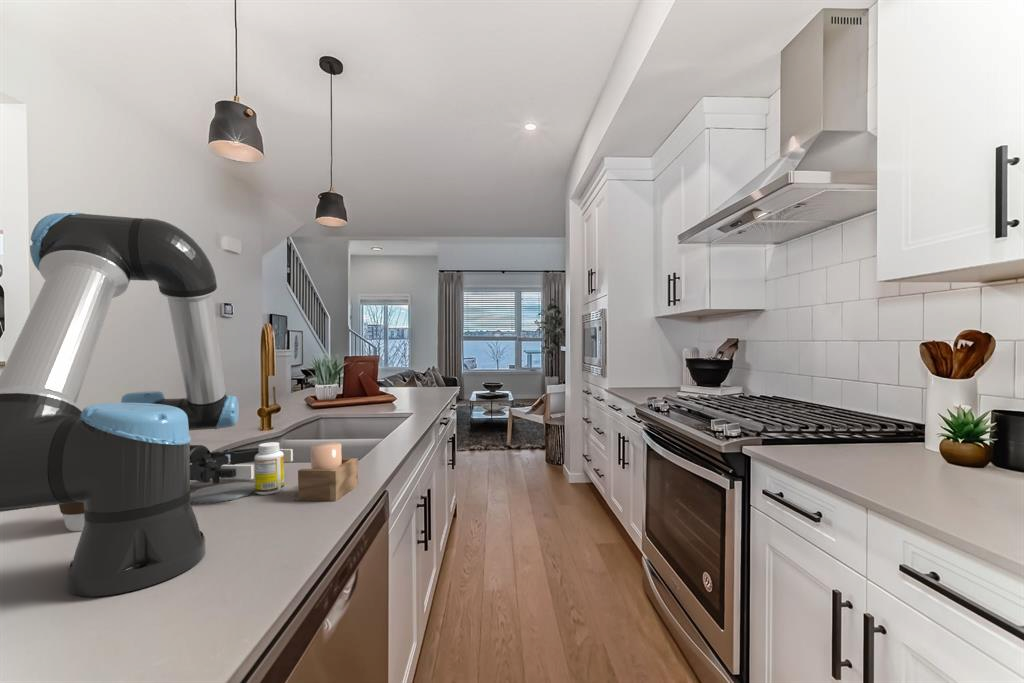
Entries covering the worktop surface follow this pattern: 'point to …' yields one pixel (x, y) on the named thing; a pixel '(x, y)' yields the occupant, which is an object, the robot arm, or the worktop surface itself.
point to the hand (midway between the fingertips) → (273, 463)
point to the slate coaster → (222, 492)
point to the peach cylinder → (326, 455)
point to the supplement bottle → (269, 469)
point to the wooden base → (327, 481)
